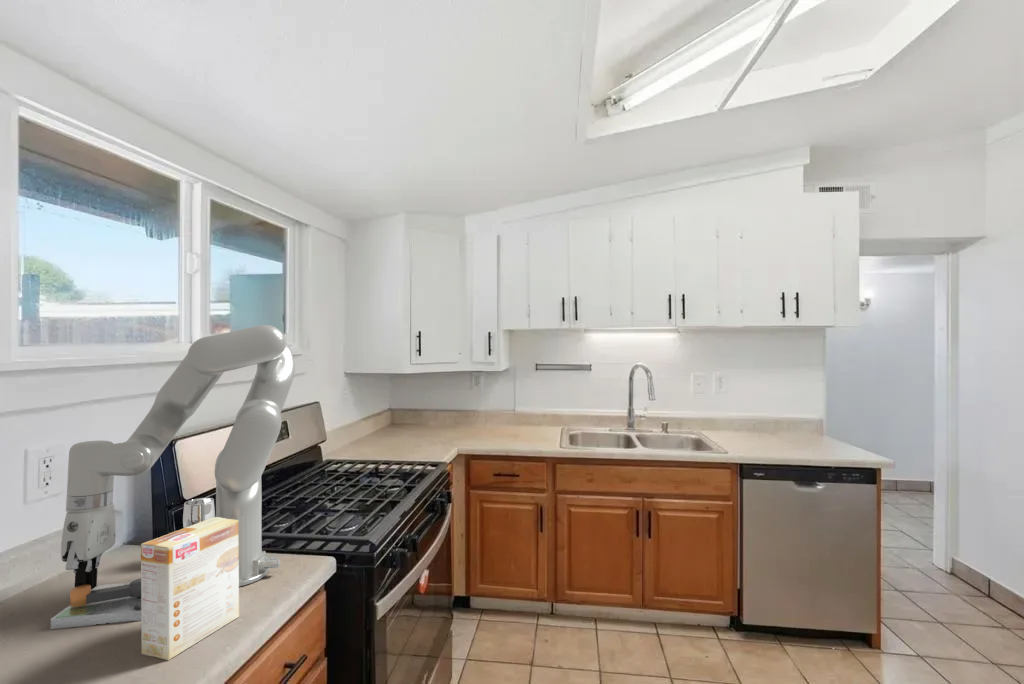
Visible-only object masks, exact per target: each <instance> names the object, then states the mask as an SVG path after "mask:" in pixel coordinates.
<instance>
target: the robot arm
mask: <svg viewBox="0 0 1024 684" xmlns="http://www.w3.org/2000/svg"><path fill="white" fill-rule="evenodd" d="M254 365H256V366H257V367H256V368H257V369H256V373H255V375H254V377H253V380H252V383H251V386H250V388H249V390H248V393H247V395H246V397H245V400H244V401H243V403H242V405H241V407H240V409H239V410H238V411H237V413H236V416H235V421H234V423H233V426H232V428H231V430H230V433H229V435H228V438H227V439H226V442H225V445H224V446H223V448H222V449H221V450H220V452H219V454H218V455H217V457H216V460H215V464H214V478H215V517H221V518H226V519H234V520H238V551H239V587H243V586H247V585H250V584H252V583H256V582H257V581H259V580H261V579H263V578H264V577H266V575H268V573H269V572H270V571H269V570H270V569H276V568H280V566H281V559H280V558H278V556H267V555H266V550H263V549H262V547H263V546H262V545H263V544H262V542H263V541H262V540H263V539H262V538H263V537H262V532H263V531H262V527H263V526H262V509H263V508H262V505H263V503H262V499H263V497H262V495H263V494H262V492H263V491H262V489H263V488H262V475H263V474H264V471H265V469H266V466H267V463H268V462H269V459H270V458H271V457H270V456H271V454H272V451H273V449H274V447H275V445H276V442H277V441H278V438H279V435H280V431H281V428H282V423H283V421H282V415H281V413H282V410H283V407H284V405H285V403H286V400H287V399H288V395H289V393H290V389H291V386H292V384H293V381H294V376H295V371H296V370H295V369H296V367H295V366H296V364H295V359H294V355H293V352H292V350H291V348H290V346H289V345H288V344H287V342H286V338H285V335H284V334H283V332H282V331H281V330H280V329H279V328H277V327H276V326H274V325H270V324H260V325H255V326H251V327H246V328H242V329H237V330H233V331H228V332H224V333H219V334H214V335H207V336H203V337H200V338H198V339H196V340H195V341H194V342H193V343H191V345H190V347H189V348H188V352H187V354H186V356H185V357H184V358H183V359H182V360H181V362H180V363H179V364H178V366H177V367H176V369H175V370H174V371H173V372H172V373H171V375H170V376H169V377H168V379H167V380H166V381H165V382H164V384H163V385H162V386H161V388H160V389H159V390H158V393H157V394H156V396H155V399H154V402H153V405H152V406H151V408H150V410H149V411H148V413H147V415H145V417H144V418H143V420H142V421H141V422H140V424H139V425H138V426H137V427H136V429H135V430H134V432H133V433H132V434H131V436H130V437H129V438H128V439H127V440H126V441H124V442H118V443H114V442H113V441H109V440H89V441H87V440H86V441H82V442H81V441H80V442H78V443H75V444H73V445H72V446H71V447H70V448H69V450H68V465H67V466H68V467H67V481H66V482H67V483H66V502H65V512H66V514H65V519H64V523H63V528H62V534H61V543H60V559H61V561H62V562H63V563H64V562H65V563H66V564H65V568H64V569H65V570H66V571H71V570H72V572H73V573H74V588H75V587H77V586H81V585H91V590H92V589H94V588H95V587H96V586H98V567H99V566H100V562H101V557H102V555H103V554H104V553H105V552H106V551H108V550H109V549H111V548H113V546H115V543H116V537H117V536H116V534H117V533H116V530H117V529H116V525H117V524H116V510H115V504H114V501H113V499H114V480H115V476H118V477H134V476H140V475H142V474H145V473H146V472H148V471H149V470H150V469H151V468H152V467H153V466H154V465H155V463H156V462H157V461H158V459H160V457H161V456H162V454H163V452H164V451H165V450H166V448H167V447H168V446H169V444H170V443H171V441H173V439H174V438H175V436H176V435H177V433H178V432H179V431H180V429H181V428H182V427H183V425H184V424H185V423H186V422H187V421H188V420H189V418H191V417H192V416H193V414H194V413H195V412H197V410H198V408H199V407H200V406H201V405H202V403H203V402H204V400H205V399H206V397H207V396H208V394H210V392H211V391H212V389H213V388H214V386H215V385H216V384H217V383H218V381H219V379H220V378H221V377H222V375H223V374H224V373H225V372H230V371H234V370H238V369H243V368H245V367H251V366H254Z"/></svg>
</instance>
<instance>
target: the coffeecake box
mask: <svg viewBox="0 0 1024 684" xmlns="http://www.w3.org/2000/svg"><path fill="white" fill-rule="evenodd" d="M140 578H141V620H140V622H141V631H140V632H141V639H140V640H141V655H144V656H148V657H155V658H158V659H162V660H164V661H171V660H172V659H173V658H175V657H176V656H178V655H180V654H181V653H182V652H184V651H186V650H188V649H189V648H190V647H193V646H194V645H196V644H197V643H199V642H200V641H202V640H204V639H206V638H207V637H208V636H210V635H212V634H214V633H215V632H217V631H218V630H220V629H222V628H223V627H225V626H226V625H228V624H230V623H231V622H233V621H235V620H236V619H238V618H240V586H239V551H238V520H234V519H226V518H221V517H216V516H215V517H213V518H210V519H207V520H204V521H202V522H199V523H197V524H194V525H191V526H189V527H186V528H184V527H183V528H181V529H179V530H175V531H172V532H169V533H168V534H165V535H162V536H160V537H156V538H154V539H151V540H148V541H145V542H143V543H141V544H140Z"/></svg>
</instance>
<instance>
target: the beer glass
mask: <svg viewBox="0 0 1024 684" xmlns="http://www.w3.org/2000/svg"><path fill="white" fill-rule="evenodd" d="M213 517H216V507H215V499H214V498H213V497H200V498H194V499H189V500H187V501H185V502H184V504H183V514H182V524H183V526H182V527H183V528H186V527H189V526H191V525H194V524H197V523H199V522H202V521H204V520H207V519H210V518H213Z"/></svg>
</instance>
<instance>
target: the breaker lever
mask: <svg viewBox="0 0 1024 684" xmlns="http://www.w3.org/2000/svg"><path fill="white" fill-rule="evenodd" d="M129 583H130V584H128V585H122V586H116V587H110V588H104V589H98V590H92V591H91V585H81V586H77V587H75V586H74V587H72V588H70V590H69V606H70V607H79V606H82V605H85V604H89V603H95V602H101V601H107V600H113V599H118V598H124V597H139V596H141V577H140V578H137V579H134V580H132V581H130V582H129Z"/></svg>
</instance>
